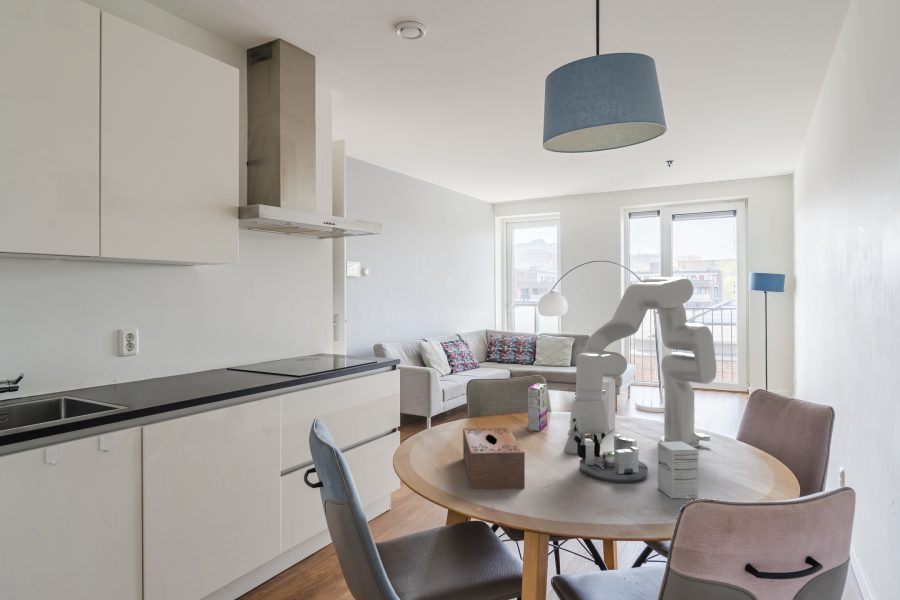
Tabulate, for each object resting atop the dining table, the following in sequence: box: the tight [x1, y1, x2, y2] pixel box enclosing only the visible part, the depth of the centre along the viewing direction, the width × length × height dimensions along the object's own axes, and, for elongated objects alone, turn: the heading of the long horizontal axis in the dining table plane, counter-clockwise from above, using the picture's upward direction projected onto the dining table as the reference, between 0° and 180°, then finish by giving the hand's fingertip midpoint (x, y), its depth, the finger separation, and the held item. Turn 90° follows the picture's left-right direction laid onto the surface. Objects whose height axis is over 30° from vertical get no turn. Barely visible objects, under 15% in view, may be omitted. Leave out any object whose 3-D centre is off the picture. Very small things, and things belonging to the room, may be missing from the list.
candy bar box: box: [527, 383, 548, 432], centre depth 198 cm, size 11×5×16 cm, turn 155°
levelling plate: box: [579, 450, 649, 485], centre depth 149 cm, size 19×19×6 cm
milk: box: [602, 377, 616, 432], centre depth 195 cm, size 6×6×22 cm
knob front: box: [581, 438, 595, 465], centre depth 151 cm, size 4×6×7 cm, turn 174°
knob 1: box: [613, 433, 637, 451], centre depth 154 cm, size 4×6×7 cm, turn 42°
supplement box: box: [657, 441, 699, 499], centre depth 132 cm, size 7×7×13 cm
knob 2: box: [613, 446, 640, 474], centre depth 142 cm, size 4×6×7 cm, turn 102°
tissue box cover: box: [462, 426, 526, 490], centre depth 149 cm, size 26×14×10 cm, turn 3°
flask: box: [563, 432, 578, 455], centre depth 168 cm, size 7×7×10 cm
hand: (588, 456), depth 150 cm, fingers closed on knob front, 4 cm apart
